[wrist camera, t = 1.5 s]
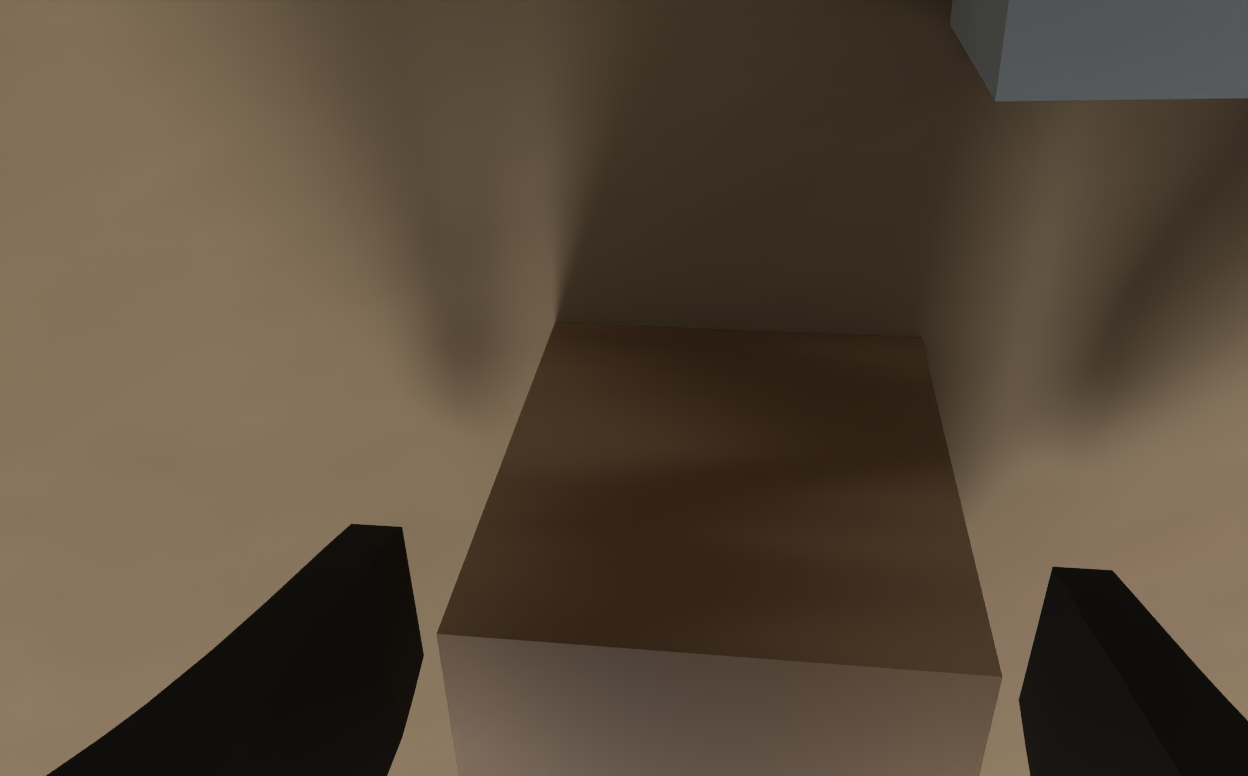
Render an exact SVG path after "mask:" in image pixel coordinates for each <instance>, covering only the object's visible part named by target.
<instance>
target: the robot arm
mask: <svg viewBox="0 0 1248 776" xmlns="http://www.w3.org/2000/svg"><path fill="white" fill-rule="evenodd" d="M423 656H424V654H423V648H422V642H421V636H420V630H419V624H418V618H417V613H416V607H415V601H414V595H413V589H412V583H411V577H410V571H409V566H408V560H407V554H406V548H405V542H404V536H403V530H402V527H392V526H376V525H359V524H351V525H350V526H348V527H347V528H346V529H345V530H344V531H343V532H342V533H341V534H340V535H338V536H337V537H336V538H335V539H334V540H333V541H332V542H330V543H329V544H328V545H327V546H326V547H325V548H324V549H323V550H322V551H321V552H320V553H318V554H317V555H316V556H315V557H314V558H313V559H312V560H311V561H310V562H309V563H308V564H307V565H305V566H304V567H303V568H302V569H301V570H300V571H299V572H298V573H297V574H296V575H295V576H294V577H293V578H291V579H290V580H289V581H288V582H287V583H286V584H285V585H284V586H283V587H282V588H281V589H280V590H278V591H277V592H276V593H275V594H274V595H273V596H272V597H271V598H270V599H269V600H268V601H267V602H265V603H264V604H263V605H262V606H261V607H260V608H259V609H258V610H257V611H255V612H254V613H253V614H252V615H251V616H250V617H249V618H248V619H246V620H245V621H244V622H243V623H242V624H241V625H240V626H239V627H237V628H236V629H235V630H234V631H233V632H232V633H231V634H230V635H228V636H227V637H226V638H225V639H224V640H223V641H222V642H221V643H219V644H218V645H217V646H216V647H215V648H214V649H213V650H211V651H210V652H209V653H208V654H207V655H206V656H204V657H203V658H202V659H201V660H199V661H198V662H197V663H196V664H195V665H193V666H192V667H191V668H190V669H188V670H187V671H186V672H185V673H184V674H182V675H181V676H180V677H179V678H177V679H176V680H175V681H174V682H172V683H171V684H170V685H169V686H168V687H166V688H165V689H164V690H163V691H161V692H160V693H159V694H158V695H157V696H155V697H154V698H153V699H152V700H150V701H149V702H148V703H147V704H146V705H144V706H143V707H142V708H140V709H139V710H138V711H136V712H135V713H134V714H132V715H131V716H130V717H128V718H127V719H126V720H124V721H123V722H122V723H120V724H119V725H118V726H116V727H115V728H114V729H112V730H111V731H110V732H108V733H107V734H105V735H104V736H103V737H101V738H100V739H98V740H97V741H96V742H94V743H93V744H91V745H90V746H88V747H87V748H86V749H84V750H83V751H81V752H80V753H78V754H77V755H75V756H74V757H73V758H71V759H70V760H68V761H67V762H65V763H64V764H62V765H61V766H60V767H58V768H57V769H55V770H54V771H52V772H51V773H49V774H48V775H46V776H387V774H388V772H389V769H390V767H391V764H392V762H393V759H394V757H395V754H396V752H397V749H398V747H399V744H400V741H401V739H402V736H403V732H404V729H405V725H406V722H407V718H408V714H409V711H410V707H411V704H412V700H413V696H414V692H415V688H416V684H417V680H418V676H419V672H420V668H421V664H422V660H423ZM1019 704H1020V711H1021V718H1022V724H1023V731H1024V738H1025V745H1026V751H1027V757H1028V763H1029V769H1030V775H1031V776H1248V721H1247V720H1246V719H1245V718H1244V716H1243V715H1242V714H1241V713H1240V712H1239V711H1238V710H1237V709H1236V708H1235V707H1234V706H1233V705H1232V704H1231V703H1230V702H1229V701H1228V700H1227V698H1226V697H1225V696H1224V695H1223V694H1222V693H1221V692H1220V691H1219V690H1218V689H1217V688H1216V687H1215V686H1214V684H1213V683H1212V682H1211V681H1210V680H1209V679H1208V678H1207V677H1206V676H1205V675H1204V673H1203V672H1202V671H1201V670H1200V669H1199V668H1198V667H1197V666H1196V665H1195V663H1194V662H1193V661H1192V660H1191V659H1190V658H1189V657H1188V656H1187V654H1186V653H1185V652H1184V651H1183V650H1182V649H1181V648H1180V647H1179V645H1178V644H1177V643H1176V642H1175V641H1174V640H1173V639H1172V638H1171V636H1170V635H1169V634H1168V633H1167V632H1166V631H1165V630H1164V628H1163V627H1162V626H1161V625H1160V624H1159V623H1158V622H1157V620H1156V619H1155V618H1154V617H1153V616H1152V615H1151V614H1150V612H1149V611H1148V610H1147V609H1146V608H1145V607H1144V606H1143V604H1142V603H1141V602H1140V601H1139V600H1138V599H1137V598H1136V597H1135V595H1134V594H1133V593H1132V592H1131V591H1130V590H1129V589H1128V588H1127V586H1126V585H1125V584H1124V583H1123V582H1122V581H1121V580H1120V579H1119V577H1118V576H1117V575H1116V574H1115V573H1114V572H1113V571H1112V570H1097V569H1080V568H1064V567H1053V568H1052V572H1051V576H1050V580H1049V584H1048V587H1047V591H1046V595H1045V599H1044V603H1043V607H1042V611H1041V615H1040V619H1039V623H1038V627H1037V631H1036V635H1035V639H1034V643H1033V647H1032V650H1031V654H1030V658H1029V662H1028V666H1027V670H1026V674H1025V678H1024V682H1023V686H1022V690H1021V694H1020V698H1019Z"/></svg>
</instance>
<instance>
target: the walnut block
mask: <svg viewBox="0 0 1248 776" xmlns="http://www.w3.org/2000/svg"><path fill="white" fill-rule="evenodd" d="M437 639H438V646H439V652H440V658H441V665H442V671H443V678H444V684H445V690H446V697H447V703H448V710H449V716H450V722H451V729H452V735H453V742H454V748H455V754H456V761H457V767H458V774H459V776H979V773H980V769H981V765H982V761H983V756H984V752H985V748H986V744H987V740H988V735H989V731H990V727H991V723H992V718H993V714H994V710H995V706H996V701H997V697H998V693H999V689H1000V685H1001V680H1002V674H1001V670H1000V665H999V661H998V657H997V653H996V649H995V644H994V640H993V636H992V632H991V628H990V624H989V619H988V615H987V611H986V607H985V603H984V599H983V594H982V590H981V586H980V582H979V578H978V574H977V569H976V565H975V561H974V557H973V553H972V548H971V544H970V540H969V536H968V532H967V528H966V523H965V519H964V515H963V511H962V507H961V503H960V498H959V494H958V490H957V486H956V482H955V477H954V473H953V469H952V465H951V461H950V457H949V452H948V448H947V444H946V440H945V436H944V432H943V427H942V423H941V419H940V415H939V411H938V406H937V402H936V398H935V394H934V390H933V386H932V381H931V377H930V373H929V369H928V365H927V361H926V356H925V352H924V348H923V344H922V340H921V337H898V336H873V335H848V334H823V333H798V332H773V331H748V330H723V329H698V328H673V327H648V326H623V325H598V324H573V323H555V324H554V327H553V330H552V332H551V335H550V337H549V340H548V343H547V345H546V348H545V351H544V353H543V356H542V358H541V361H540V364H539V366H538V369H537V372H536V374H535V377H534V379H533V382H532V385H531V387H530V390H529V393H528V395H527V398H526V400H525V403H524V406H523V408H522V411H521V414H520V416H519V419H518V422H517V424H516V427H515V429H514V432H513V435H512V437H511V440H510V443H509V445H508V448H507V450H506V453H505V456H504V458H503V461H502V464H501V466H500V469H499V471H498V474H497V477H496V479H495V482H494V485H493V487H492V490H491V492H490V495H489V498H488V500H487V503H486V506H485V508H484V511H483V513H482V516H481V519H480V521H479V524H478V527H477V529H476V532H475V535H474V537H473V540H472V542H471V545H470V548H469V550H468V553H467V556H466V558H465V561H464V563H463V566H462V569H461V571H460V574H459V577H458V579H457V582H456V584H455V587H454V590H453V592H452V595H451V598H450V600H449V603H448V605H447V608H446V611H445V613H444V616H443V619H442V621H441V624H440V626H439V629H438V632H437Z"/></svg>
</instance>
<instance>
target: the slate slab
mask: <svg viewBox="0 0 1248 776" xmlns="http://www.w3.org/2000/svg"><path fill="white" fill-rule="evenodd" d="M950 26H951V27H952V29H953V31H954V32H955V34H956V36H957V38H958V39H959V41H960V43H961V44H962V46H963V48H964V49H965V51H966V53H967V55H968V56H969V58H970V60H971V61H972V63H973V65H974V66H975V68H976V70H977V71H978V73H979V75H980V77H981V78H982V80H983V82H984V83H985V85H986V87H987V88H988V90H989V92H990V94H991V95H992V97H993V99H994V100H995V102H1004V101H1080V100H1155V99H1231V98H1248V0H952V9H951V18H950Z"/></svg>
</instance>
